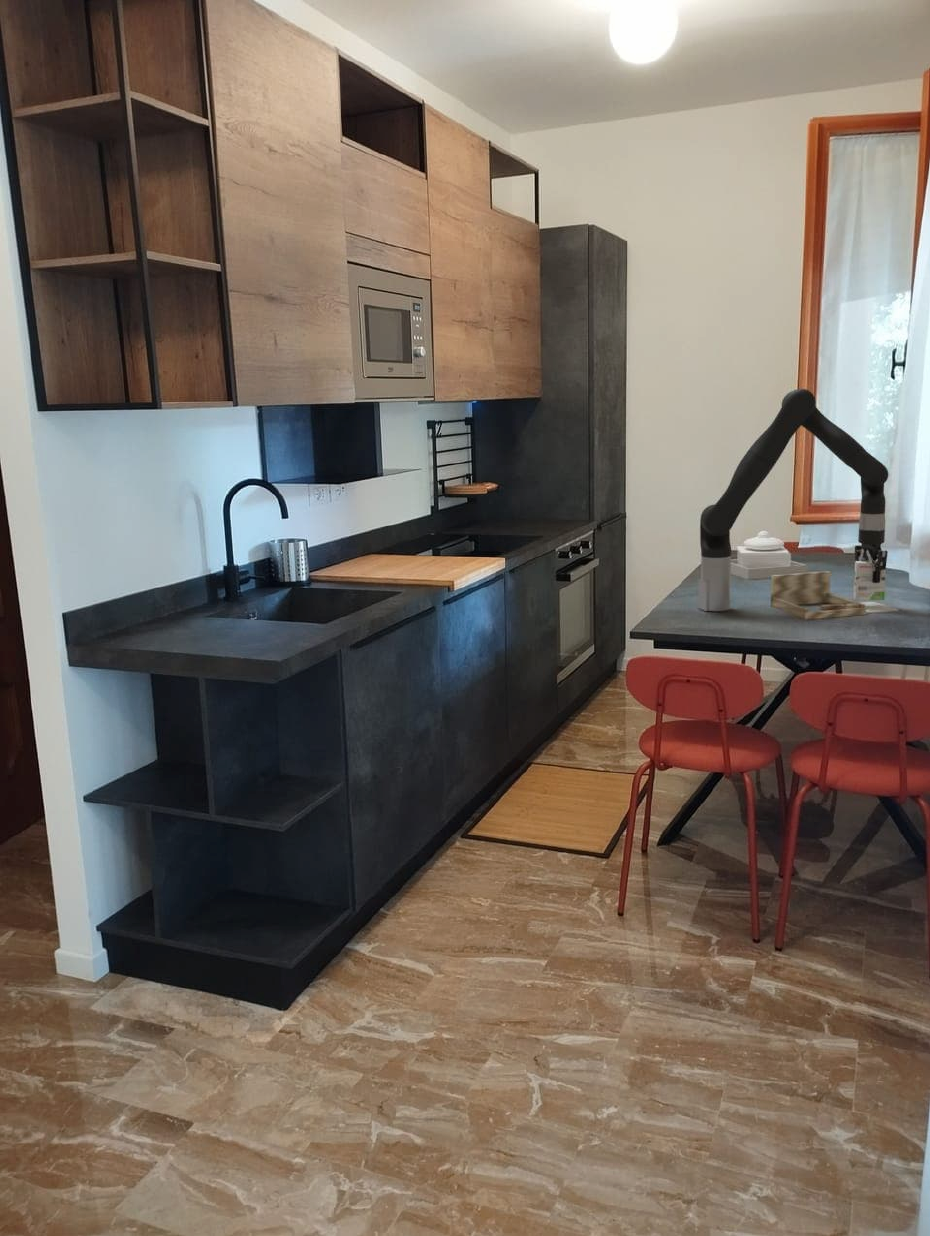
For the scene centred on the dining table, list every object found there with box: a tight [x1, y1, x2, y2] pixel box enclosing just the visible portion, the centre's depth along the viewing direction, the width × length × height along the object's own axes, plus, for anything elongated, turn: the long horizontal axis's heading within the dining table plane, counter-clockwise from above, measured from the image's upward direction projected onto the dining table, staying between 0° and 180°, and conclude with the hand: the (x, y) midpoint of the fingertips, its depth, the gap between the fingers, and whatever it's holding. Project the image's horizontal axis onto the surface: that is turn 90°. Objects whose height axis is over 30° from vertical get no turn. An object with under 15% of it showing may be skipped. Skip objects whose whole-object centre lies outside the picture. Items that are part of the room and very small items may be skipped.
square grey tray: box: [731, 558, 808, 581], centre depth 383 cm, size 23×23×4 cm
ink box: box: [852, 560, 887, 601], centre depth 313 cm, size 9×5×12 cm, turn 77°
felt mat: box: [858, 600, 900, 615], centre depth 315 cm, size 12×14×1 cm
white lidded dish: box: [735, 530, 792, 568], centre depth 381 cm, size 18×18×16 cm
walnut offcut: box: [819, 604, 846, 611], centre depth 306 cm, size 7×2×2 cm, turn 91°
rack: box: [770, 570, 867, 620], centre depth 313 cm, size 20×22×10 cm
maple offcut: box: [846, 603, 859, 609], centre depth 307 cm, size 3×2×3 cm
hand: (869, 580), depth 313 cm, fingers closed on ink box, 6 cm apart
